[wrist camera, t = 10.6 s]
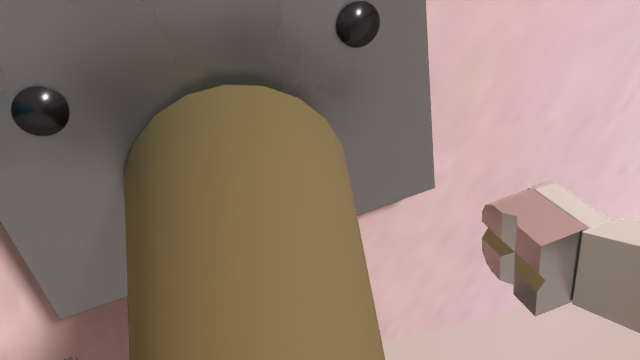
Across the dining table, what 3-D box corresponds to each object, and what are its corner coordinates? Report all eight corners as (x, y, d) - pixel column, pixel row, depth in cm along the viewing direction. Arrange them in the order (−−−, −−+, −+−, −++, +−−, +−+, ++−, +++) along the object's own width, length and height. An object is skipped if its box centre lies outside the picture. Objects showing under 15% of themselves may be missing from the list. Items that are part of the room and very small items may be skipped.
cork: (317, 281, 17) (454, 792, 8) (113, 265, 15) (-17, 897, 6) (375, 106, 14) (697, 582, 5) (135, 62, 13) (-47, 663, 3)
